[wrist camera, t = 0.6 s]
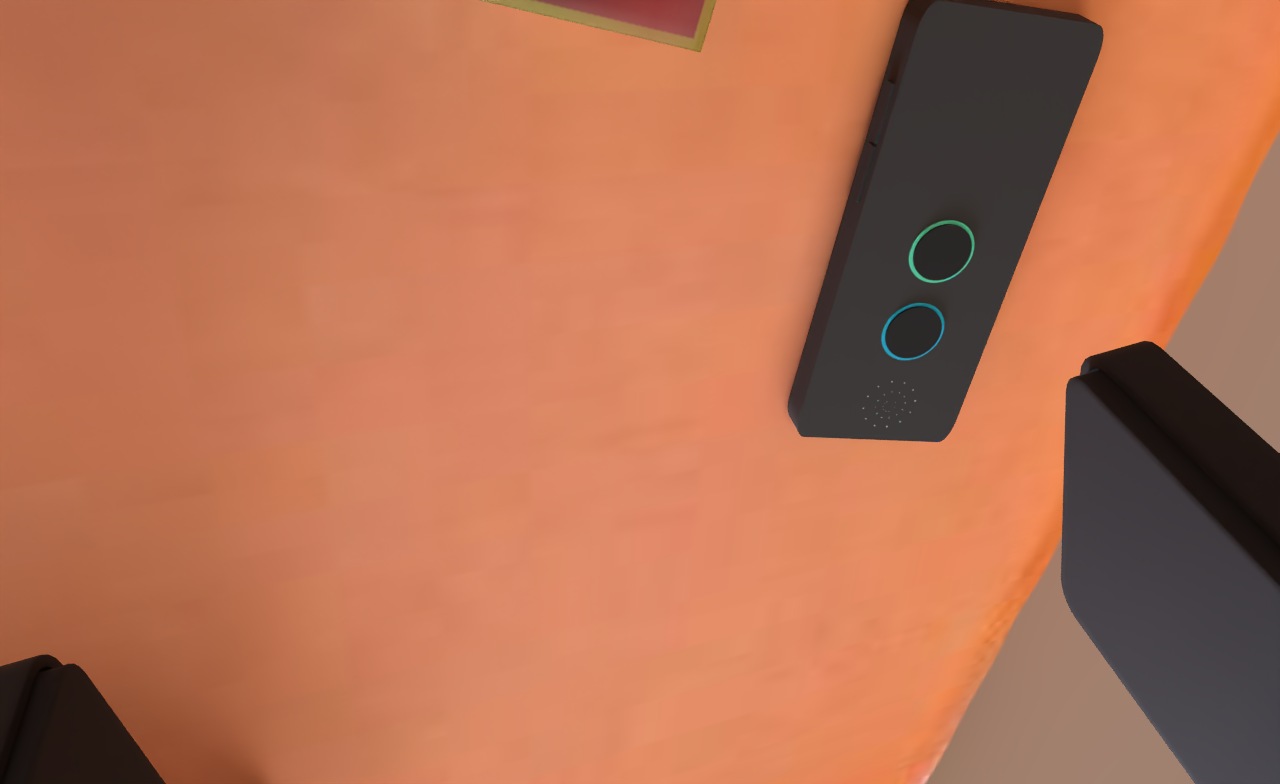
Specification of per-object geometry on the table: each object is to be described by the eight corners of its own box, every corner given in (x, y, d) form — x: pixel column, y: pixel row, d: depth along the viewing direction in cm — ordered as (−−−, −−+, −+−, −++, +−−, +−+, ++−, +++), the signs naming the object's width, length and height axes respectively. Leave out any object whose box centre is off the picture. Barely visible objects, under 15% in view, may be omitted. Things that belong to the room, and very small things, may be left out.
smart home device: (791, 438, 52) (924, -2, 42) (780, 417, 54) (907, -13, 44) (951, 444, 55) (1115, 27, 44) (936, 424, 56) (1092, 15, 46)
